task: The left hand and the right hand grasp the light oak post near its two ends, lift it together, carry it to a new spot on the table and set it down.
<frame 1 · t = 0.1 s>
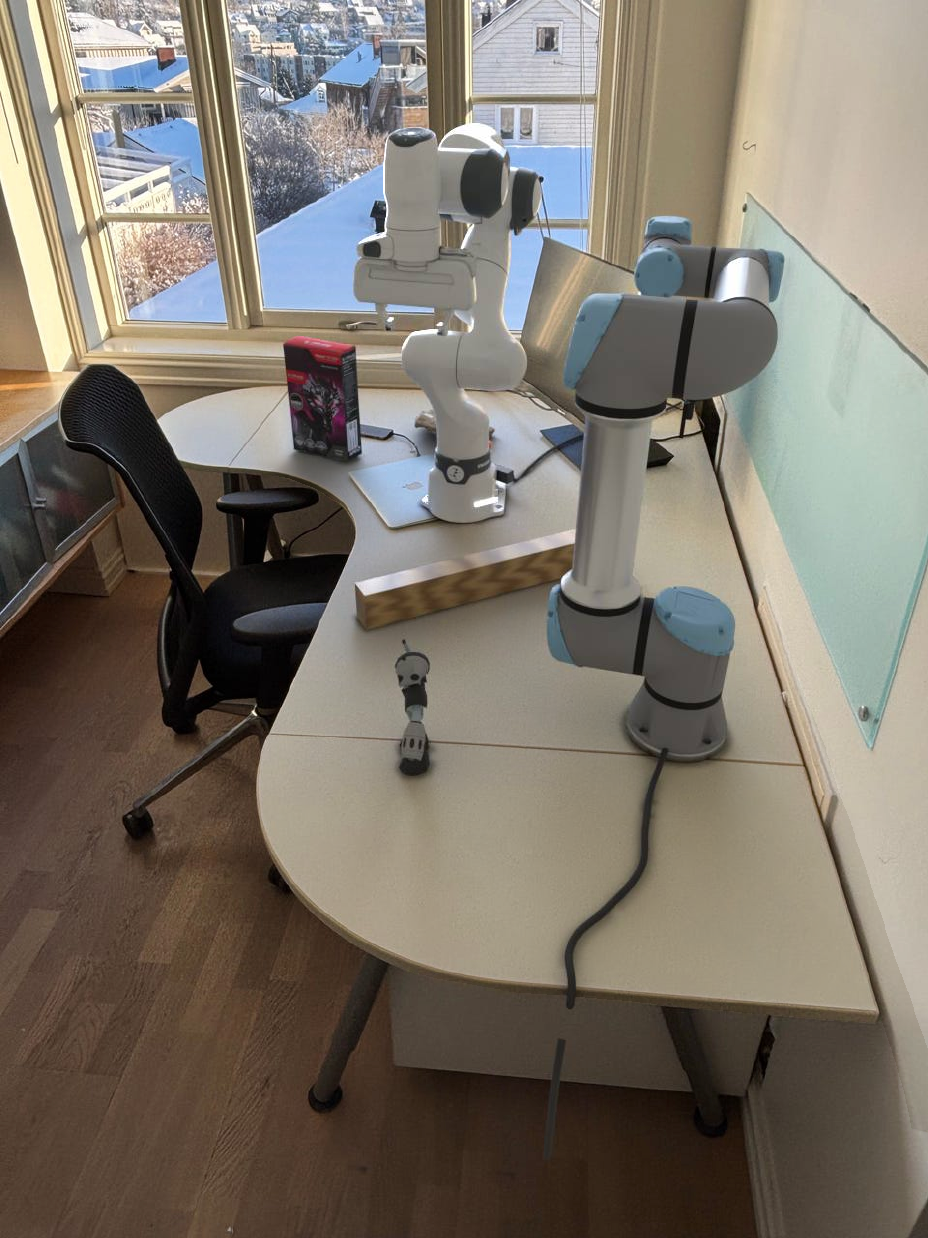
left hand: (415, 332, 154), 48 cm above the table, tool pointing down, fingers open, 8 cm apart
right hand: (643, 431, 170), 28 cm above the table, tool pointing down, fingers open, 13 cm apart
post: (492, 588, 177), on the table
robot: (414, 757, 138), on the table
graphics card box: (327, 453, 230), on the table
stone: (450, 439, 237), on the table
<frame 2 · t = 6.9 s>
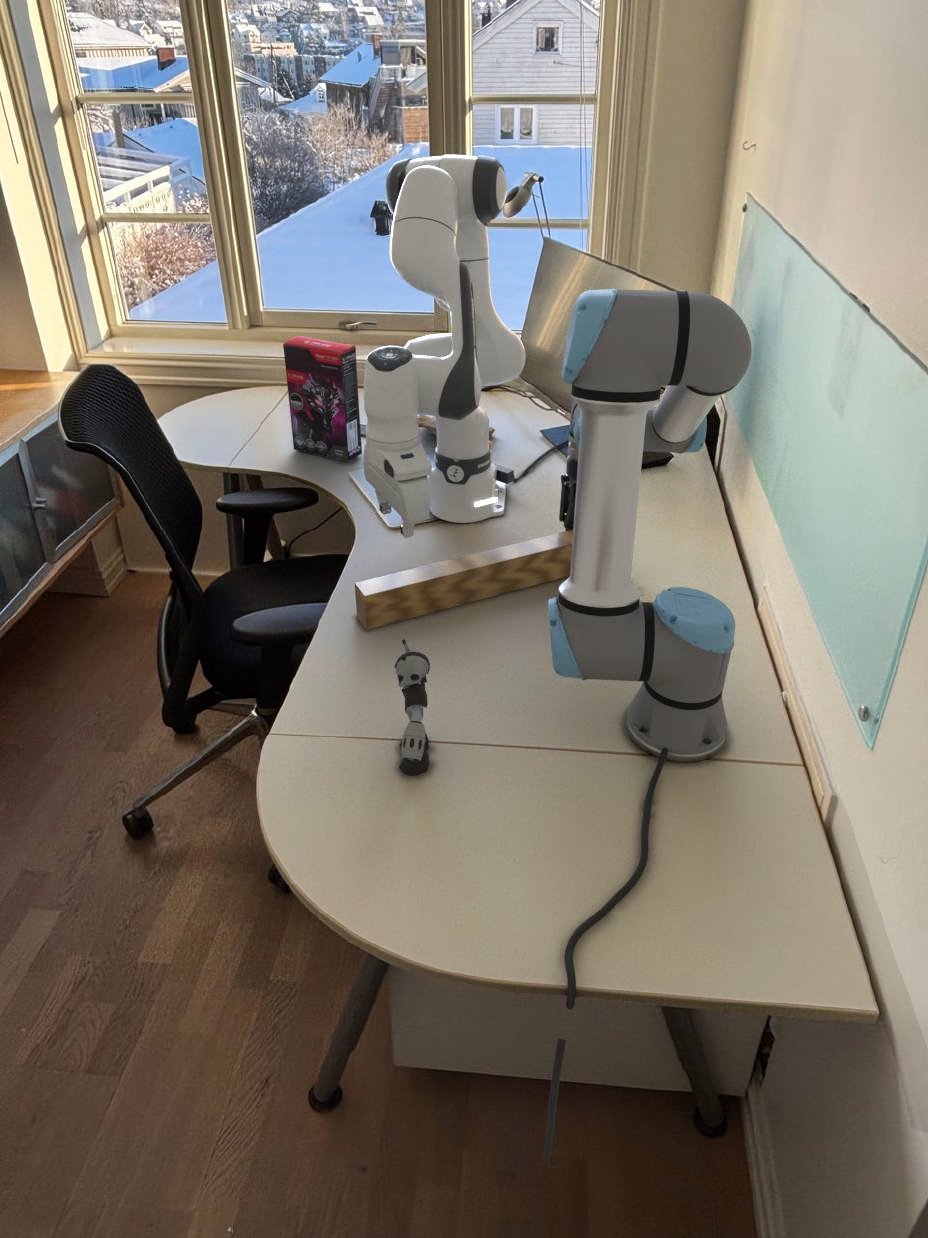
left hand: (396, 523, 160), 19 cm above the table, tool pointing down, fingers open, 8 cm apart
right hand: (577, 563, 184), 1 cm above the table, tool pointing down, fingers closed on post, 5 cm apart
post: (492, 588, 177), on the table, touching right hand
everything else where it was.
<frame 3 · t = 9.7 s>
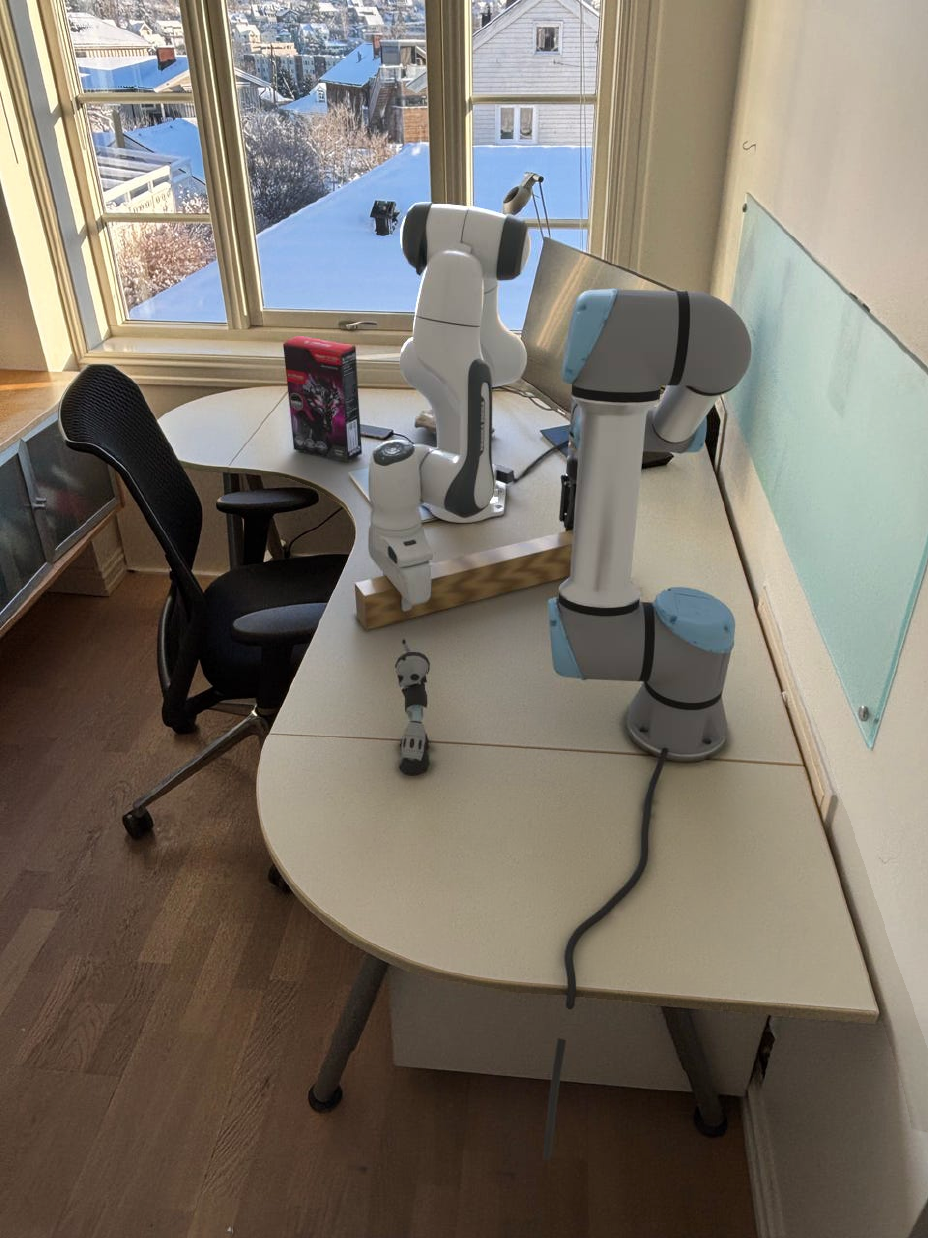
left hand: (399, 600, 168), 3 cm above the table, tool pointing down, fingers closed on post, 5 cm apart
right hand: (577, 563, 184), 1 cm above the table, tool pointing down, fingers closed on post, 5 cm apart
post: (492, 588, 177), on the table, touching right hand, left hand
everything else where it was.
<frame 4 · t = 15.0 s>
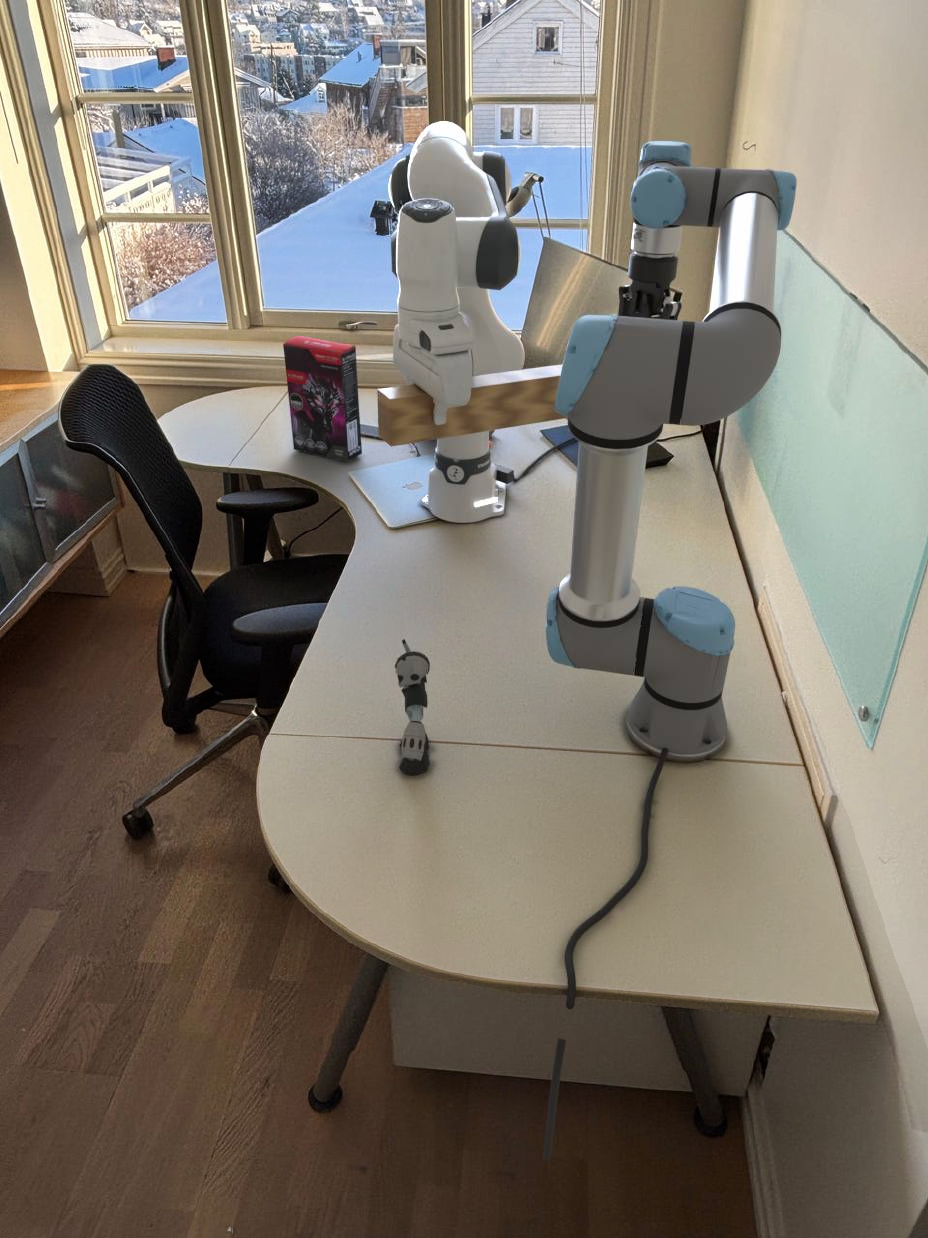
left hand: (430, 416, 140), 41 cm above the table, tool pointing down, fingers closed on post, 5 cm apart
right hand: (637, 396, 157), 38 cm above the table, tool pointing down, fingers closed on post, 5 cm apart
post: (537, 416, 149), point 38 cm above the table, touching right hand, left hand
everything else where it was.
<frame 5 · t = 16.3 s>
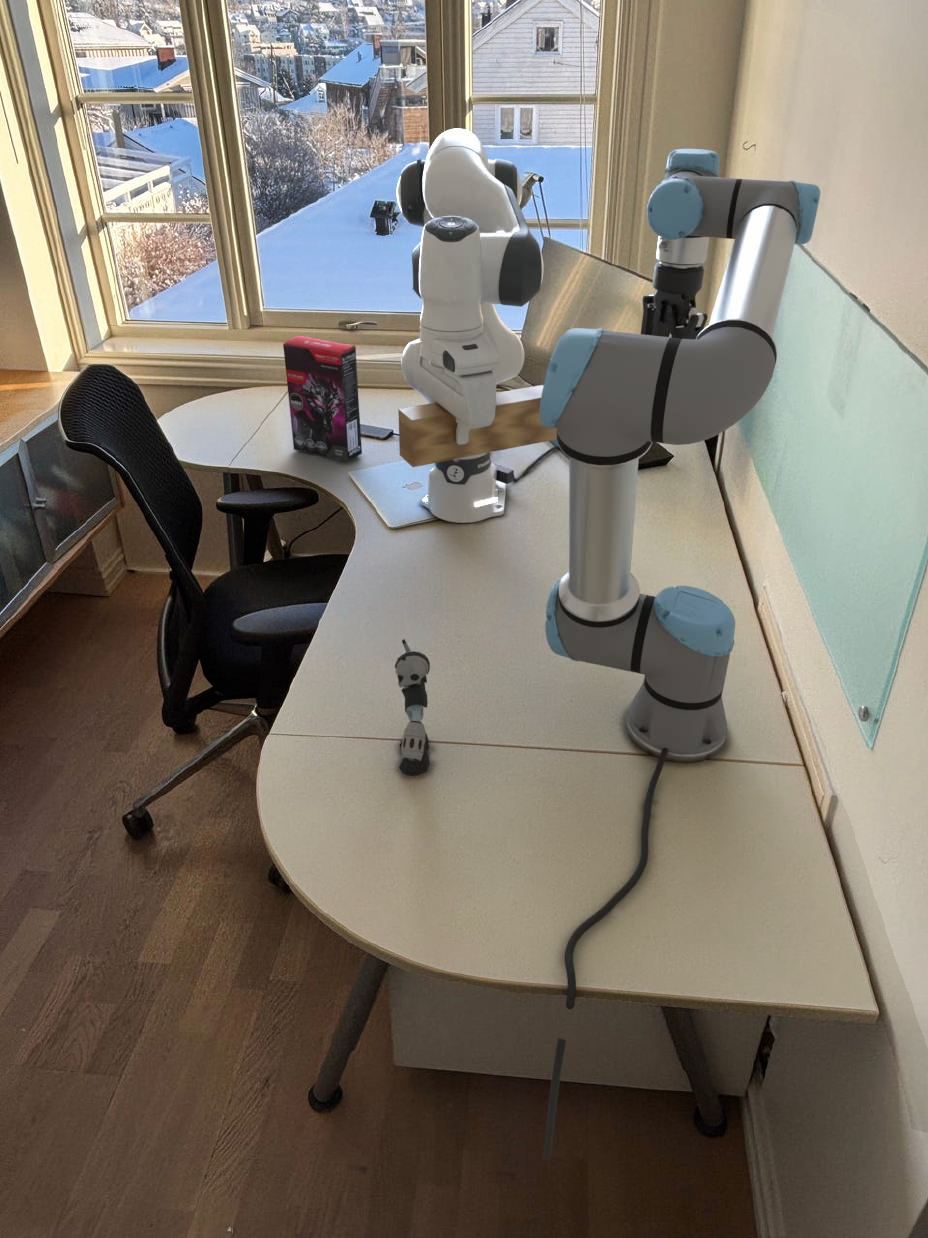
left hand: (451, 435, 138), 40 cm above the table, tool pointing down, fingers closed on post, 5 cm apart
right hand: (660, 408, 154), 38 cm above the table, tool pointing down, fingers closed on post, 5 cm apart
post: (560, 431, 147), point 37 cm above the table, touching right hand, left hand
everything else where it was.
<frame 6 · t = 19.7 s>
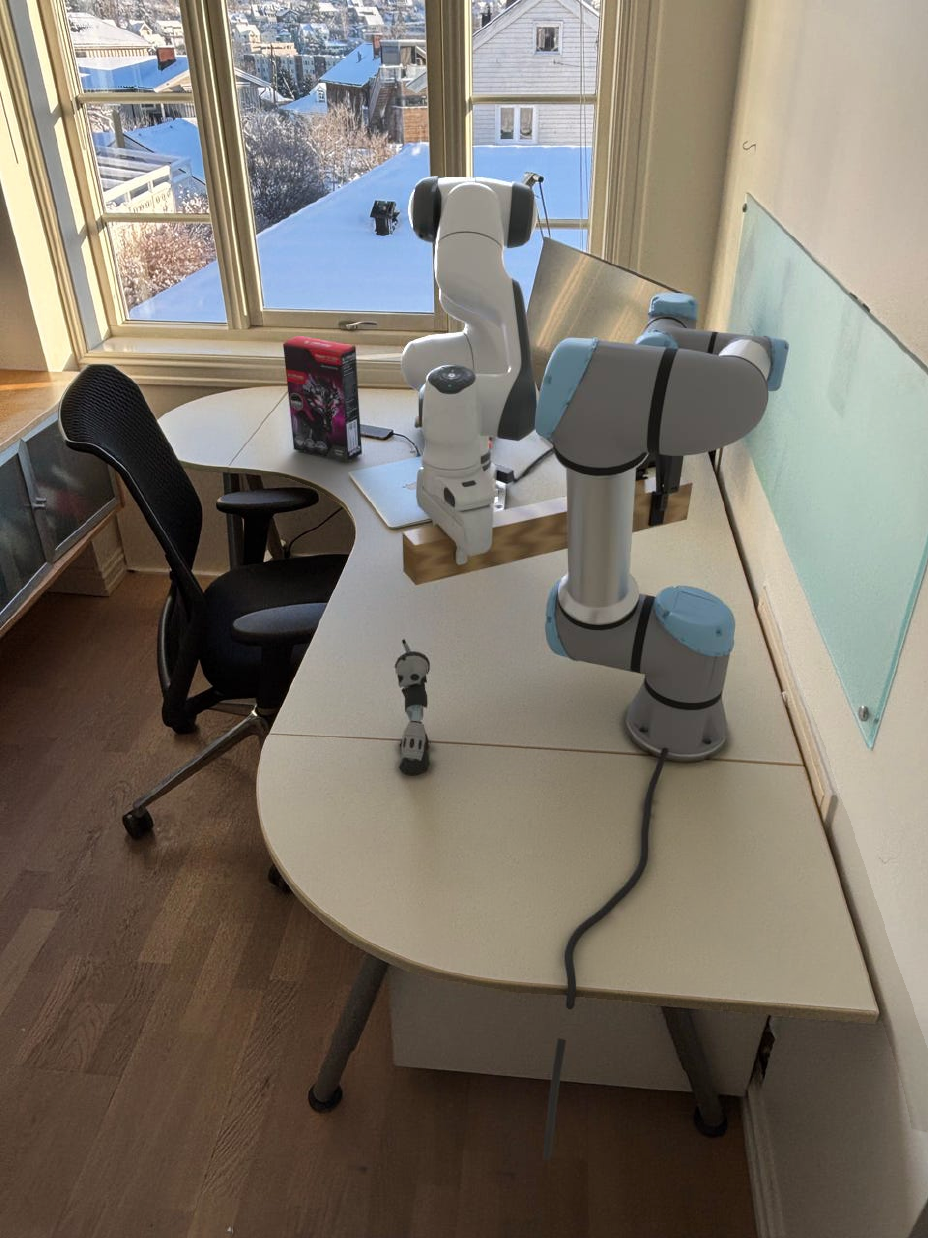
left hand: (451, 553, 149), 19 cm above the table, tool pointing down, fingers closed on post, 5 cm apart
right hand: (646, 517, 165), 17 cm above the table, tool pointing down, fingers closed on post, 5 cm apart
post: (552, 544, 158), point 17 cm above the table, touching right hand, left hand
everything else where it was.
when the left hand's fingers open (4 cm above the table, at t = 23.1 s): post drops 1 cm, on the table.
when the right hand's fingers open (2 cm above the table, at t = 23.1 s): post drops 1 cm, on the table.
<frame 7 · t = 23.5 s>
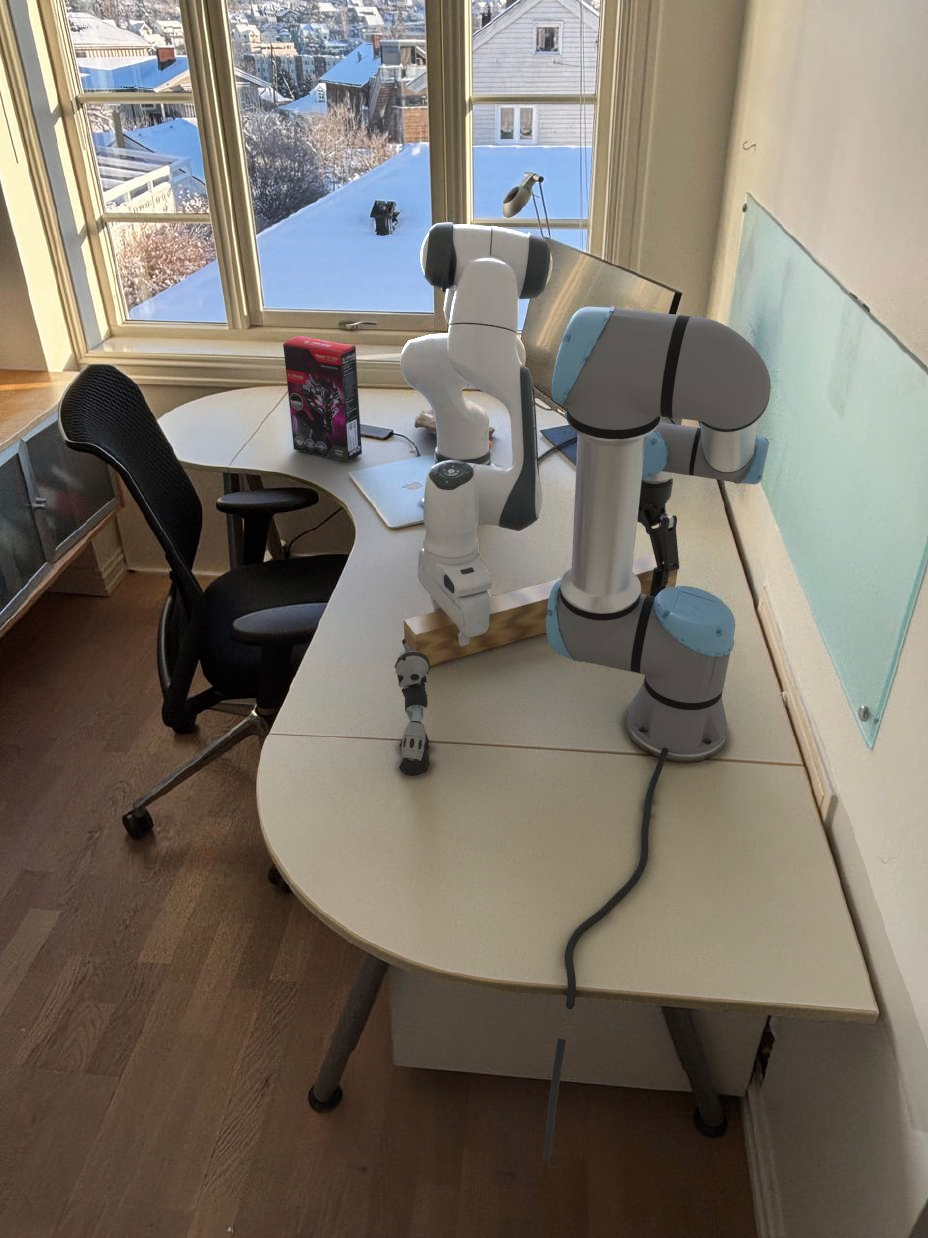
left hand: (451, 630, 158), 4 cm above the table, tool pointing down, fingers open, 7 cm apart
right hand: (637, 582, 173), 4 cm above the table, tool pointing down, fingers open, 11 cm apart
post: (546, 623, 167), on the table
everything else where it was.
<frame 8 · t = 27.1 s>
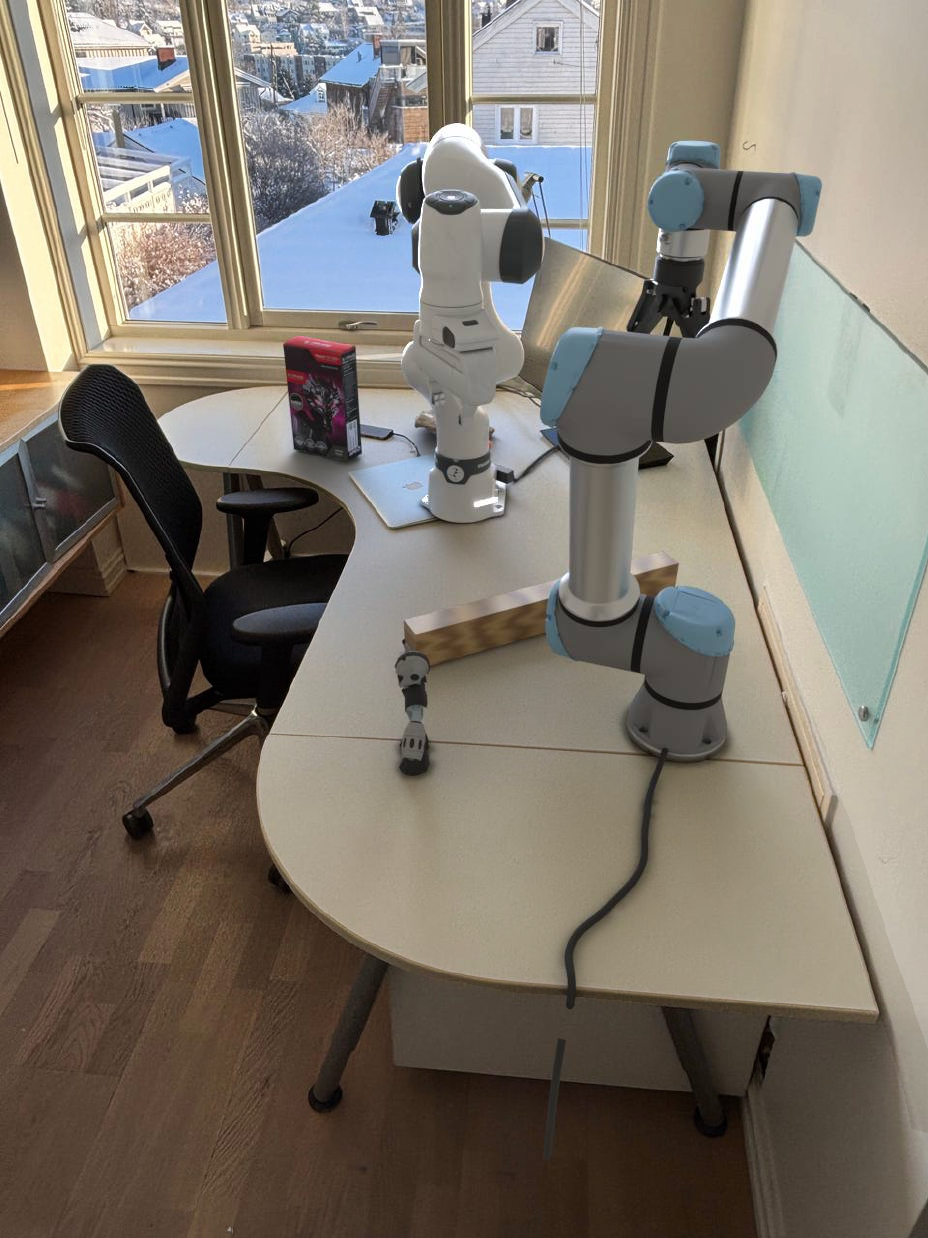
left hand: (451, 414, 136), 43 cm above the table, tool pointing down, fingers open, 8 cm apart
right hand: (662, 390, 152), 41 cm above the table, tool pointing down, fingers open, 13 cm apart
nothing on the table moved.
at the end: post inside the target area (0.2 cm from its centre), on the table; post tilted 0°; post never tilted more than 2° during the clip; both hands held the post at the same time; the left hand is holding nothing; the right hand is holding nothing; post at rest at the end (0.0 cm/s) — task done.
